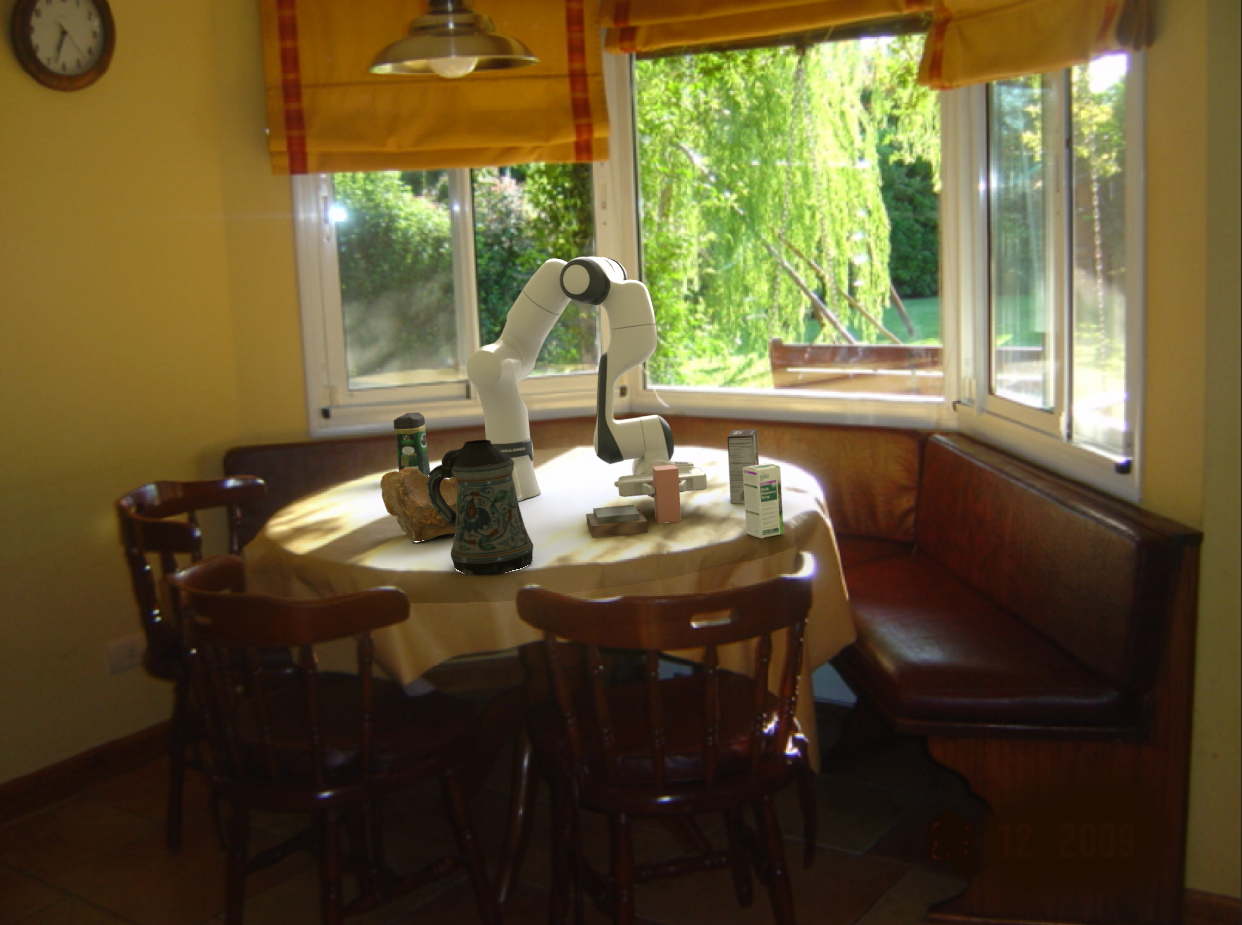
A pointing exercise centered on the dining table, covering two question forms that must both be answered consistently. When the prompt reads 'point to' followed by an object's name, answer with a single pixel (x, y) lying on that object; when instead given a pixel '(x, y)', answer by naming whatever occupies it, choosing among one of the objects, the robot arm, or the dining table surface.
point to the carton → (666, 493)
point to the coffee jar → (412, 442)
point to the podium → (616, 521)
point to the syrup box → (763, 500)
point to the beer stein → (482, 510)
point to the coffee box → (741, 459)
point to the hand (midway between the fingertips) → (667, 490)
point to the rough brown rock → (417, 503)
